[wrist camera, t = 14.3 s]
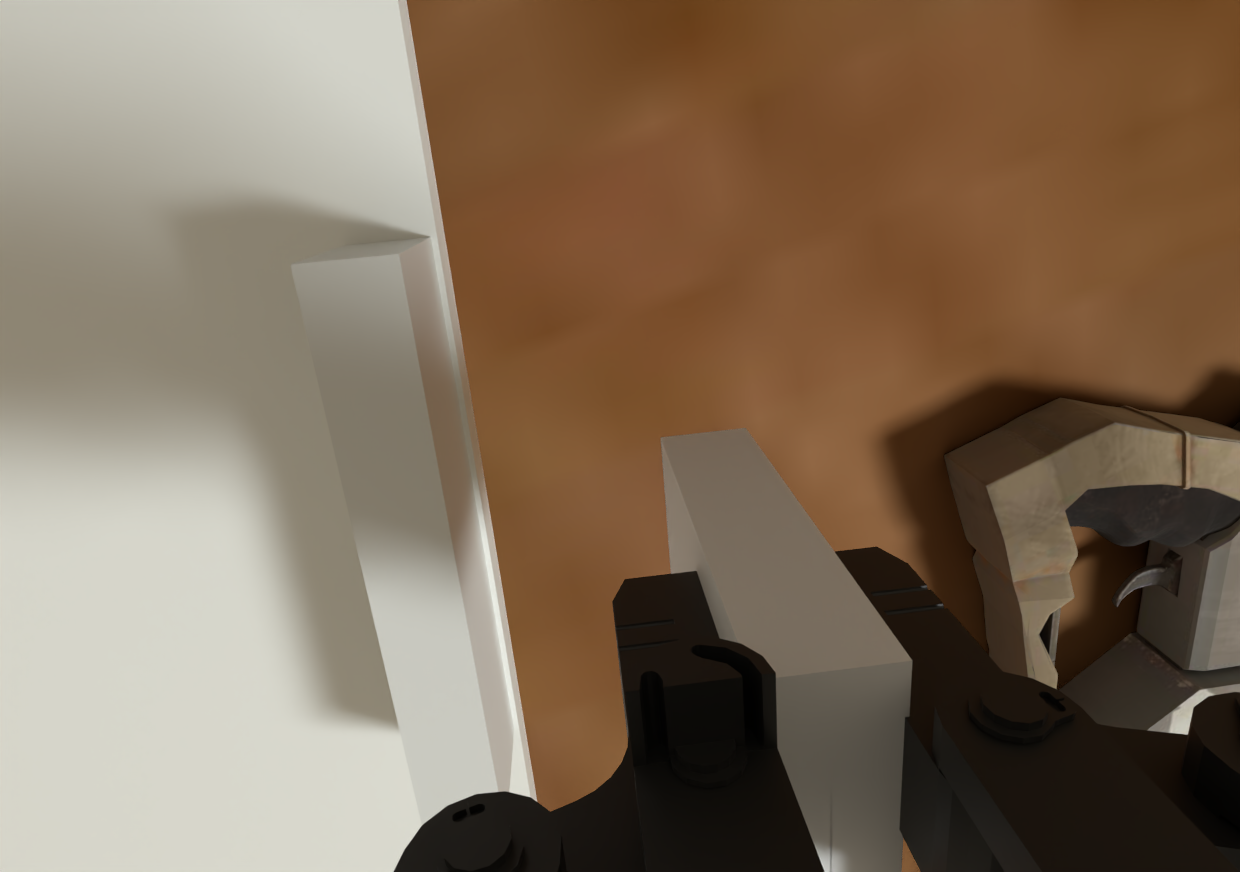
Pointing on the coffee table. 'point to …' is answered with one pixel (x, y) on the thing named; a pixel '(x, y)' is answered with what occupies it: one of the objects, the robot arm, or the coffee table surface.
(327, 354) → the lid
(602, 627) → the coffee table surface
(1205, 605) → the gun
